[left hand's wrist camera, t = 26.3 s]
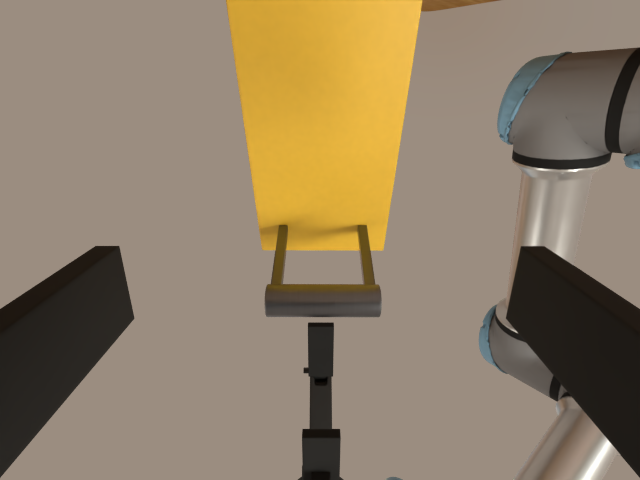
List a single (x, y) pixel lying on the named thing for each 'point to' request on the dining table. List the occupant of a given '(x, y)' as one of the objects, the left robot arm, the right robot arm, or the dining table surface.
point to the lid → (323, 133)
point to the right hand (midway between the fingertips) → (321, 368)
